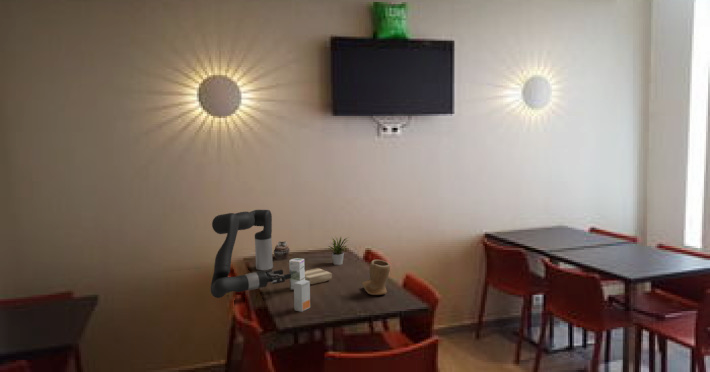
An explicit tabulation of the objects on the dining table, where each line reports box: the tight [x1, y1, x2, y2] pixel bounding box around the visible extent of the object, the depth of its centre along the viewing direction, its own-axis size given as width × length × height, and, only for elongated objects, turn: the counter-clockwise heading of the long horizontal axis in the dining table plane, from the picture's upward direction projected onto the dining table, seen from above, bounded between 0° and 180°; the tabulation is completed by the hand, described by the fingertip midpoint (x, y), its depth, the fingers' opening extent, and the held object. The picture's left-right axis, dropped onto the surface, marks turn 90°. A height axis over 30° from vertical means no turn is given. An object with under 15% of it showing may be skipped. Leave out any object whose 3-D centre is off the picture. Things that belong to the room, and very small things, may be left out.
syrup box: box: [288, 257, 306, 291], centre depth 237 cm, size 6×6×14 cm
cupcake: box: [273, 241, 290, 261], centre depth 297 cm, size 10×10×10 cm
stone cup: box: [362, 259, 391, 296], centre depth 230 cm, size 15×12×15 cm
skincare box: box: [293, 280, 311, 313], centre depth 209 cm, size 6×4×12 cm
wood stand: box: [305, 267, 333, 286], centre depth 250 cm, size 13×13×4 cm
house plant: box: [328, 235, 350, 266], centre depth 280 cm, size 14×14×16 cm
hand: (286, 273), depth 234 cm, fingers open, 8 cm apart
